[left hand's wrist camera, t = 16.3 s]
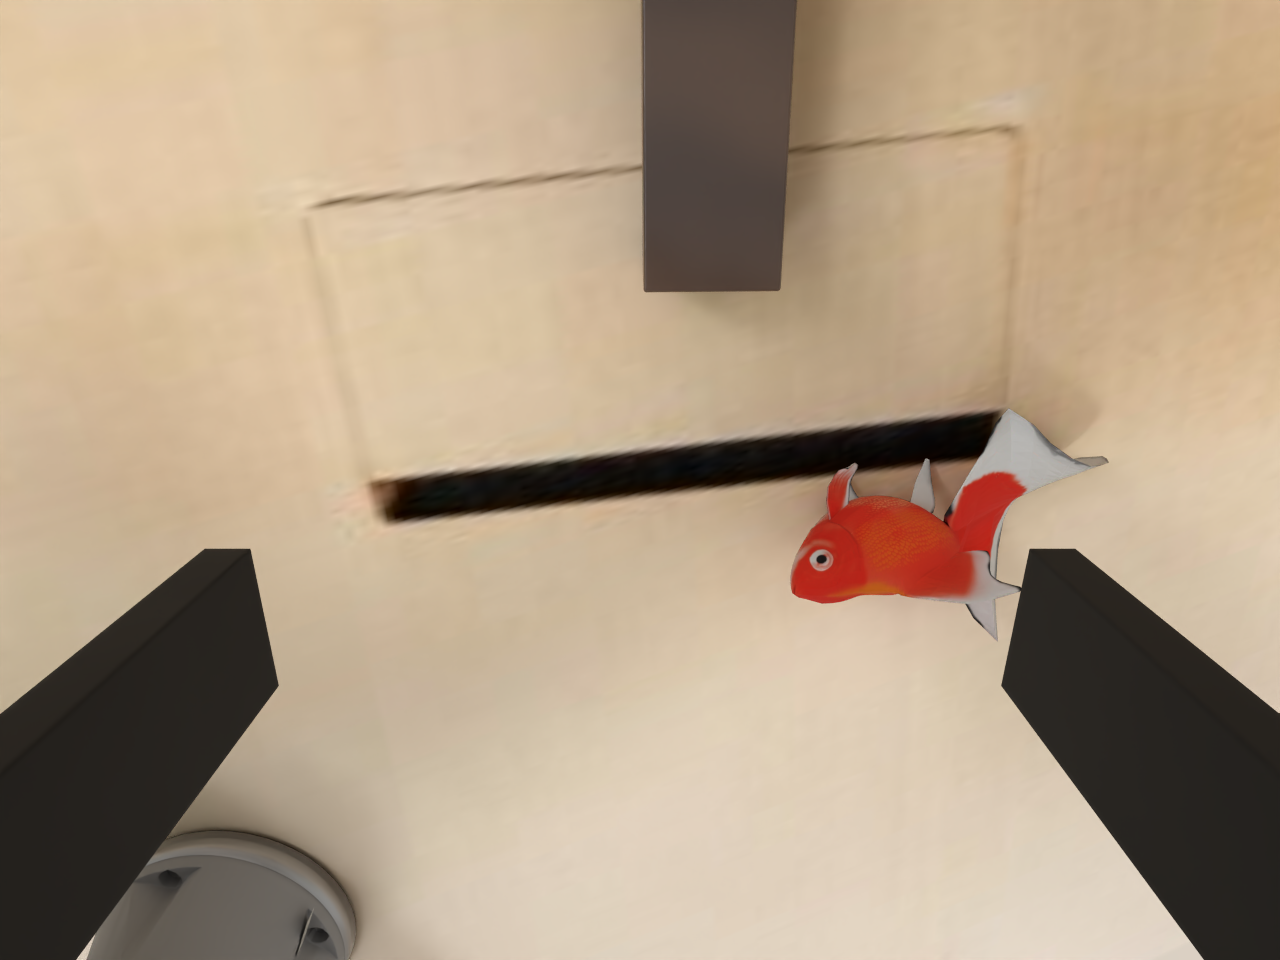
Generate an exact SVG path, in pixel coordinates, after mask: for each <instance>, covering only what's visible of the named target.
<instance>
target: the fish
mask: <svg viewBox="0 0 1280 960" xmlns="http://www.w3.org/2000/svg"><path fill="white" fill-rule="evenodd" d="M1106 463H1109V462H1108V460H1107V459H1106V458H1104V457H1103V456H1100V457H1082V458H1077V459H1072V458H1071V457H1069V456H1068V455H1066V454H1065V453H1064V452H1062V451H1061V450H1059V449H1058V448H1057V447H1055V446H1054V445H1052V444H1051V443H1050V442H1049V441H1048V440H1047V439H1046V438H1045V437H1044V436H1043V434H1042V433H1041V432H1040V431H1039V430H1038V429H1037V428H1036V427H1035V426H1034V425H1033V424H1032V423H1030V422H1029V421H1027V420H1026V419H1024V418H1023V417H1021V416H1020V415H1018V414H1017V413H1015V412H1014V411H1012V410H1011V409H1009V408H1008V410H1007V411H1006V412H1005V413H1004V414H1003V415H1002V417H1001V418H1000V419H999V420H998V421H997V422H996V424H995V426H994V428H993V431H992V433H991V435H990V437H989V439H988V441H987V443H986V446H985V448H984V450H983V452H982V454H981V455H980V457H979V459H978V460H977V462H976V463H975V465H974V467H973V468H972V470H971V471H970V473H969V475H968V476H967V478H966V480H965V481H964V483H963V485H962V486H961V488H960V490H959V492H958V493H957V495H956V497H955V498H954V500H953V502H952V504H951V505H950V507H949V509H948V510H947V512H946V514H945V516H944V521H941V520H940V519H939V518H937V517H936V516H934V515H933V514H932V513H933V511H934V508H935V499H934V493H933V488H932V481H931V473H930V461H929V459H925V461H924V463H923V466H922V468H921V470H920V472H919V474H918V477H917V479H916V482H915V485H914V489H913V494H912V498H911V501H910V502H909V501H906V500H903V499H899V498H894V497H888V496H866V497H860V498H858V496H857V495H856V493H855V492H854V490H853V488H852V486H851V483H850V482H851V480H852V477H853V475H854V474H855V472H856V470H857V468H858V464H856V463H853V464H852V465H851V466H849V467H848V468H844V469H841V470H838V472H837V473H836V474H835V475H834V477H833V479H832V481H831V483H830V484H829V486H828V490H827V499H826V502H827V509H828V513H827V514H826V515H824V516H823V517H822V518H821V519H820V520H819V521H818V523H817V524H816V525H815V526H814V527H813V528H812V529H811V530H810V532H809V534H808V535H807V537H806V539H805V540H804V542H803V544H802V545H801V547H800V549H799V551H798V553H797V555H796V557H795V560H794V563H793V566H792V571H791V589H792V593H793V594H794V595H796V596H797V597H799V598H804V599H808V600H811V601H815V602H819V603H836V602H841V601H845V600H848V599H851V598H854V597H856V596H860V595H894V594H901V595H902V596H907V597H912V598H920V599H928V600H937V601H945V602H954V603H964V604H966V606H967V607H968V609H969V611H970V613H971V614H972V616H973V618H974V619H975V620H976V621H977V622H978V623H979V624H980V625H981V626H982V627H983V628H984V629H985V630H986V631H987V632H988V633H989V634H990V635H991V636H992V637H993V638H994V639H996V640H997V641H998V638H997V623H996V607H995V599H996V598H999V597H1003V596H1006V595H1010V594H1013V593H1016V592H1019V591H1021V587H1018V586H1014V585H1010V584H1007V583H1003V582H1001V581H999V580H997V579H996V572H997V553H998V546H999V540H1000V535H1001V530H1002V524H1003V520H1004V517H1005V515H1006V513H1007V511H1008V509H1009V507H1010V506H1011V504H1012V503H1013V502H1014V500H1015V499H1016V498H1018V497H1020V496H1022V495H1024V494H1026V493H1028V492H1031V491H1033V490H1035V489H1038V488H1040V487H1042V486H1045V485H1047V484H1049V483H1052V482H1055V481H1057V480H1060V479H1063V478H1066V477H1069V476H1073V475H1075V474H1078V473H1081V472H1083V471H1086V470H1088V469H1091V468H1094V467H1097V466H1100V465H1103V464H1106Z"/></svg>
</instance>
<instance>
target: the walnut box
mask: <svg viewBox="0 0 1280 960" xmlns="http://www.w3.org/2000/svg"><path fill="white" fill-rule="evenodd" d="M796 9H797V0H641V70H642V216H643V284H644V291H645V292H724V291H779V290H780V288H781V271H782V253H783V236H784V218H785V201H786V183H787V166H788V148H789V131H790V113H791V96H792V78H793V61H794V43H795V26H796Z"/></svg>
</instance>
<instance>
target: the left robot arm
mask: <svg viewBox="0 0 1280 960" xmlns="http://www.w3.org/2000/svg"><path fill="white" fill-rule="evenodd" d="M278 686H279V685H278V680H277V675H276V670H275V666H274V661H273V656H272V651H271V646H270V641H269V637H268V632H267V627H266V622H265V617H264V613H263V608H262V603H261V598H260V593H259V588H258V584H257V579H256V574H255V569H254V564H253V559H252V555H251V550H250V549H204V550H203V551H202V552H200V553H199V554H198V555H197V556H195V557H194V558H193V559H192V560H190V561H189V562H188V563H187V564H185V565H184V566H183V567H182V568H181V569H179V570H178V571H177V572H176V573H174V574H173V575H172V576H171V577H169V578H168V579H167V580H166V581H164V582H163V583H162V584H161V585H160V586H158V587H157V588H156V589H155V590H153V591H152V592H151V593H150V594H148V595H147V596H146V597H145V598H143V599H142V600H141V601H140V602H138V603H137V604H136V605H135V606H134V607H132V608H131V609H130V610H129V611H127V612H126V613H125V614H124V615H122V616H121V617H120V618H119V619H117V620H116V621H115V622H114V623H112V624H111V625H110V626H109V627H108V628H106V629H105V630H104V631H103V632H101V633H100V634H99V635H98V636H96V637H95V638H94V639H93V640H91V641H90V642H89V643H88V644H86V645H85V646H84V647H83V648H82V649H80V650H79V651H78V652H77V653H75V654H74V655H73V656H72V657H70V658H69V659H68V660H67V661H65V662H64V663H63V664H62V665H61V666H59V667H58V668H57V669H56V670H54V671H53V672H52V673H51V674H49V675H48V676H47V677H46V678H44V679H43V680H42V681H41V682H39V683H38V684H37V685H36V686H35V687H33V688H32V689H31V690H30V691H28V692H27V693H26V694H25V695H23V696H22V697H21V698H20V699H18V700H17V701H16V702H15V703H13V704H12V705H11V706H10V707H9V708H7V709H6V710H5V711H4V712H2V713H1V714H0V960H76V959H77V958H78V956H79V955H80V954H81V952H82V951H83V950H84V948H85V947H86V946H87V944H88V943H89V941H90V940H91V939H92V937H93V936H94V935H95V937H94V940H93V943H92V946H91V949H90V951H89V954H88V957H87V960H349V958H350V955H351V952H352V950H353V947H354V943H355V938H356V922H355V917H354V913H353V910H352V907H351V904H350V902H349V900H348V898H347V896H346V895H345V893H344V892H343V890H342V889H341V887H340V886H339V885H338V883H337V882H336V881H335V880H334V879H333V878H332V877H331V876H330V875H329V874H328V873H327V872H326V871H325V870H324V869H323V868H322V867H321V866H319V865H318V864H317V863H315V862H314V861H313V860H311V859H310V858H308V857H306V856H305V855H303V854H302V853H300V852H298V851H296V850H294V849H292V848H290V847H288V846H286V845H283V844H281V843H278V842H276V841H273V840H270V839H267V838H263V837H260V836H256V835H251V834H246V833H240V832H232V831H202V832H194V833H188V834H183V835H180V836H176V837H173V838H170V839H167V840H165V839H166V837H167V836H168V835H169V833H170V832H171V831H172V829H173V828H174V827H175V825H176V824H177V823H178V821H179V820H180V818H181V817H182V816H183V814H184V813H185V812H186V810H187V809H188V808H189V806H190V805H191V804H192V802H193V801H194V800H195V798H196V797H197V795H198V794H199V793H200V791H201V790H202V789H203V787H204V786H205V785H206V783H207V782H208V781H209V779H210V778H211V777H212V775H213V774H214V772H215V771H216V770H217V768H218V767H219V766H220V764H221V763H222V762H223V760H224V759H225V758H226V756H227V755H228V754H229V752H230V751H231V749H232V748H233V747H234V745H235V744H236V743H237V741H238V740H239V739H240V737H241V736H242V735H243V733H244V732H245V731H246V729H247V728H248V727H249V725H250V724H251V722H252V721H253V720H254V718H255V717H256V716H257V714H258V713H259V712H260V710H261V709H262V708H263V706H264V705H265V704H266V702H267V701H268V699H269V698H270V697H271V695H272V694H273V693H274V691H275V690H276V689H277V687H278ZM1001 686H1002V687H1003V689H1004V690H1005V691H1006V693H1007V694H1008V695H1009V697H1010V698H1011V699H1012V701H1013V702H1014V704H1015V705H1016V706H1017V708H1018V709H1019V710H1020V712H1021V713H1022V714H1023V716H1024V717H1025V718H1026V720H1027V721H1028V722H1029V724H1030V725H1031V727H1032V728H1033V729H1034V731H1035V732H1036V733H1037V735H1038V736H1039V737H1040V739H1041V740H1042V741H1043V743H1044V744H1045V745H1046V747H1047V748H1048V749H1049V751H1050V752H1051V754H1052V755H1053V756H1054V758H1055V759H1056V760H1057V762H1058V763H1059V764H1060V766H1061V767H1062V768H1063V770H1064V771H1065V772H1066V774H1067V775H1068V777H1069V778H1070V779H1071V781H1072V782H1073V783H1074V785H1075V786H1076V787H1077V789H1078V790H1079V791H1080V793H1081V794H1082V795H1083V797H1084V798H1085V800H1086V801H1087V802H1088V804H1089V805H1090V806H1091V808H1092V809H1093V810H1094V812H1095V813H1096V814H1097V816H1098V817H1099V818H1100V820H1101V821H1102V823H1103V824H1104V825H1105V827H1106V828H1107V829H1108V831H1109V832H1110V833H1111V835H1112V836H1113V837H1114V839H1115V840H1116V841H1117V843H1118V844H1119V845H1120V847H1121V848H1122V850H1123V851H1124V852H1125V854H1126V855H1127V856H1128V858H1129V859H1130V860H1131V862H1132V863H1133V864H1134V866H1135V867H1136V868H1137V870H1138V871H1139V873H1140V874H1141V875H1142V877H1143V878H1144V879H1145V881H1146V882H1147V883H1148V885H1149V886H1150V887H1151V889H1152V890H1153V891H1154V893H1155V894H1156V896H1157V897H1158V898H1159V900H1160V901H1161V902H1162V904H1163V905H1164V906H1165V908H1166V909H1167V910H1168V912H1169V913H1170V914H1171V916H1172V917H1173V919H1174V920H1175V921H1176V923H1177V924H1178V925H1179V927H1180V928H1181V929H1182V931H1183V932H1184V933H1185V935H1186V936H1187V937H1188V939H1189V940H1190V941H1191V943H1192V944H1193V946H1194V947H1195V948H1196V950H1197V951H1198V952H1199V954H1200V955H1201V956H1202V958H1203V959H1204V960H1280V713H1278V712H1276V711H1275V710H1274V709H1273V708H1271V707H1270V706H1269V705H1268V704H1267V703H1265V702H1264V701H1263V700H1262V699H1260V698H1259V697H1258V696H1257V695H1255V694H1254V693H1253V692H1252V691H1250V690H1249V689H1248V688H1247V687H1245V686H1244V685H1243V684H1242V683H1241V682H1239V681H1238V680H1237V679H1236V678H1234V677H1233V676H1232V675H1231V674H1229V673H1228V672H1227V671H1226V670H1224V669H1223V668H1222V667H1221V666H1219V665H1218V664H1217V663H1216V662H1215V661H1213V660H1212V659H1211V658H1210V657H1208V656H1207V655H1206V654H1205V653H1203V652H1202V651H1201V650H1200V649H1198V648H1197V647H1196V646H1195V645H1194V644H1192V643H1191V642H1190V641H1189V640H1187V639H1186V638H1185V637H1184V636H1182V635H1181V634H1180V633H1179V632H1177V631H1176V630H1175V629H1174V628H1172V627H1171V626H1170V625H1169V624H1168V623H1166V622H1165V621H1164V620H1163V619H1161V618H1160V617H1159V616H1158V615H1156V614H1155V613H1154V612H1153V611H1151V610H1150V609H1149V608H1148V607H1146V606H1145V605H1144V604H1143V603H1142V602H1140V601H1139V600H1138V599H1137V598H1135V597H1134V596H1133V595H1132V594H1130V593H1129V592H1128V591H1127V590H1125V589H1124V588H1123V587H1122V586H1120V585H1119V584H1118V583H1117V582H1116V581H1114V580H1113V579H1112V578H1111V577H1109V576H1108V575H1107V574H1106V573H1104V572H1103V571H1102V570H1101V569H1099V568H1098V567H1097V566H1096V565H1095V564H1093V563H1092V562H1091V561H1090V560H1088V559H1087V558H1086V557H1085V556H1083V555H1082V554H1081V553H1080V552H1078V551H1077V550H1076V549H1030V550H1029V555H1028V559H1027V564H1026V569H1025V574H1024V579H1023V584H1022V588H1021V593H1020V598H1019V603H1018V608H1017V613H1016V617H1015V622H1014V627H1013V632H1012V637H1011V641H1010V646H1009V651H1008V656H1007V661H1006V666H1005V670H1004V675H1003V680H1002V685H1001ZM164 840H165V841H164ZM95 933H96V934H95Z"/></svg>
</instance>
